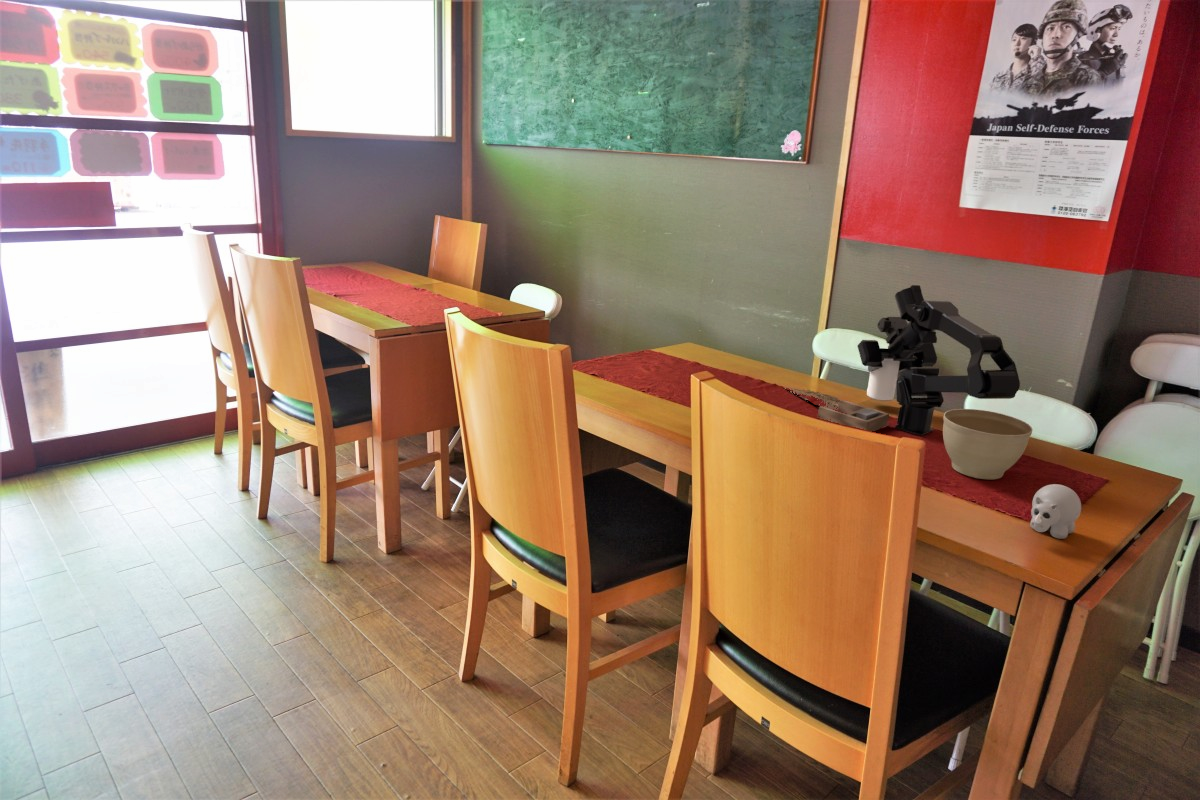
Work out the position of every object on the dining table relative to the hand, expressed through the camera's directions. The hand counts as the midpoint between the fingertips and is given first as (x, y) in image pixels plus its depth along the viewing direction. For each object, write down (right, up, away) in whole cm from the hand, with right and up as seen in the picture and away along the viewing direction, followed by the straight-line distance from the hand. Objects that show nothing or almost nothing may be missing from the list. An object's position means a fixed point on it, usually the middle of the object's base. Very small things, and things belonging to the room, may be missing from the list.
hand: (881, 370), depth 196 cm
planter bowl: (+6, -22, -36) cm, 43 cm away
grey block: (-9, -14, -14) cm, 21 cm away
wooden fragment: (-14, -8, +3) cm, 16 cm away
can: (0, -7, +1) cm, 7 cm away
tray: (-11, -13, -11) cm, 20 cm away
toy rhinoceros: (+5, -31, -62) cm, 70 cm away
